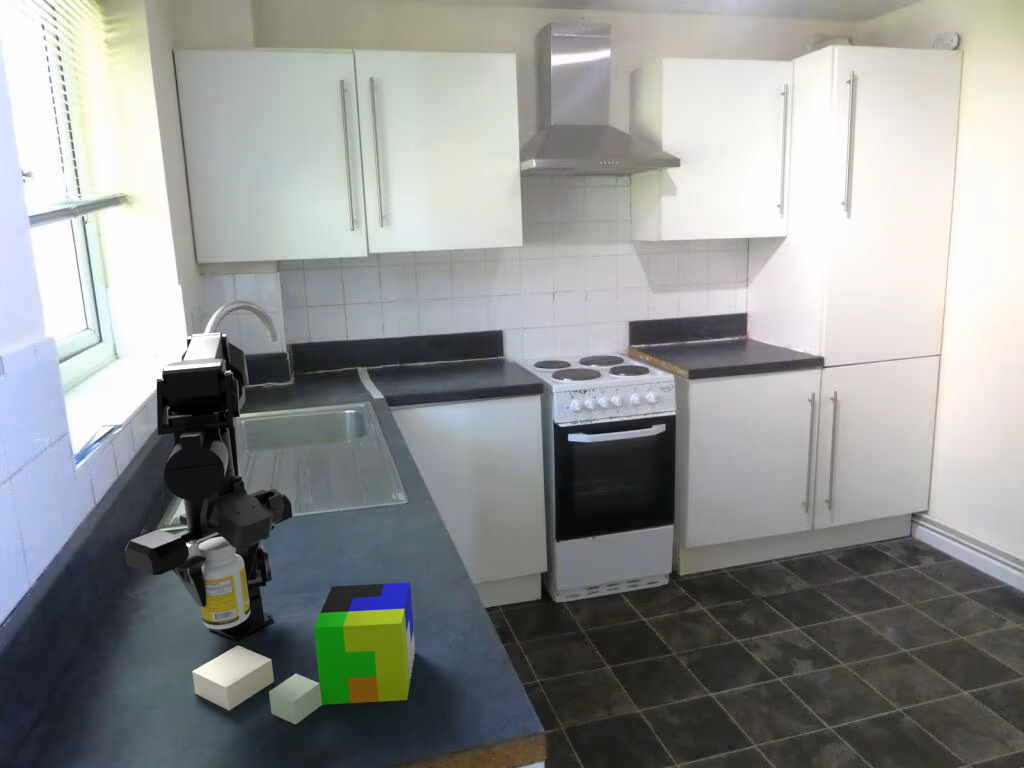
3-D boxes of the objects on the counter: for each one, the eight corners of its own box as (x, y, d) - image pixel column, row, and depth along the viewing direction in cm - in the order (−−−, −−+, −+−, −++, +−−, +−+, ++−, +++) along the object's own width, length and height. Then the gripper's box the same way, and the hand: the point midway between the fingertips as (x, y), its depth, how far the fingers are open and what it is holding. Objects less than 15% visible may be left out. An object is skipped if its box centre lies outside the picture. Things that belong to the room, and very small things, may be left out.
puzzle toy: (415, 652, 96) (410, 582, 94) (407, 700, 86) (401, 623, 84) (338, 656, 96) (331, 586, 93) (321, 705, 86) (313, 627, 84)
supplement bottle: (230, 603, 91) (221, 530, 89) (260, 613, 89) (251, 538, 87) (193, 624, 87) (182, 547, 85) (222, 635, 84) (212, 556, 82)
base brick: (195, 693, 89) (192, 671, 88) (240, 666, 94) (237, 645, 93) (229, 710, 85) (226, 687, 85) (274, 681, 91) (271, 659, 90)
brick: (271, 714, 85) (268, 691, 84) (298, 695, 88) (295, 673, 87) (295, 725, 82) (293, 702, 82) (321, 706, 86) (319, 683, 85)
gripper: (174, 510, 72) (194, 653, 75) (317, 458, 87) (329, 578, 91) (112, 492, 78) (133, 625, 81) (256, 446, 93) (269, 559, 97)
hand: (223, 595), depth 87 cm, fingers closed on supplement bottle, 5 cm apart
